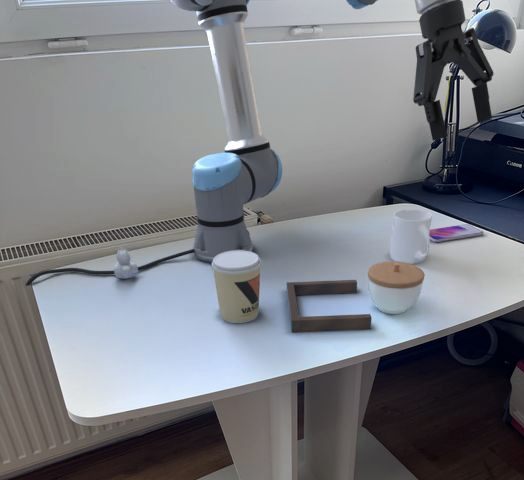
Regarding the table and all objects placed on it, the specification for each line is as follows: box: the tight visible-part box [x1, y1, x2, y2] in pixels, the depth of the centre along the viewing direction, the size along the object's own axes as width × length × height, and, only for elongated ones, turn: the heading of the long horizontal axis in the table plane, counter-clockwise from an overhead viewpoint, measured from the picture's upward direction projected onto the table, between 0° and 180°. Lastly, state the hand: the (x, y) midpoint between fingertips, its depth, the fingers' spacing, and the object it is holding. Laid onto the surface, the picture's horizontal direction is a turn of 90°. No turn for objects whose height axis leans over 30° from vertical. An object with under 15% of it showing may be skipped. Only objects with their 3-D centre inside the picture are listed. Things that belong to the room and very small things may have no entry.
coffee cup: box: [211, 250, 262, 324], centre depth 100 cm, size 9×9×12 cm
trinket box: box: [367, 260, 425, 315], centre depth 101 cm, size 11×11×9 cm
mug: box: [389, 208, 433, 265], centre depth 120 cm, size 9×12×11 cm
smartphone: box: [429, 223, 484, 243], centre depth 136 cm, size 7×1×15 cm
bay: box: [285, 279, 372, 333], centre depth 103 cm, size 15×17×2 cm
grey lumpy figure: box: [113, 245, 139, 280], centre depth 118 cm, size 5×7×8 cm
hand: (463, 129), depth 98 cm, fingers open, 13 cm apart
